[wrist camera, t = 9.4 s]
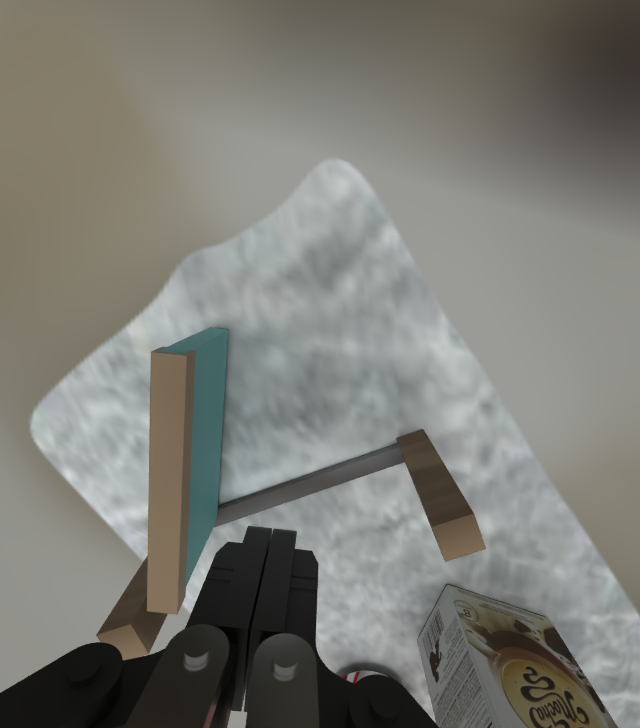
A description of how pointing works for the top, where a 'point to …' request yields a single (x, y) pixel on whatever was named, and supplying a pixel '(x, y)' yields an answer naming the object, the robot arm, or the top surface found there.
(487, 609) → the coffee box
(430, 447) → the gate frame
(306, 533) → the top surface
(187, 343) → the panel
